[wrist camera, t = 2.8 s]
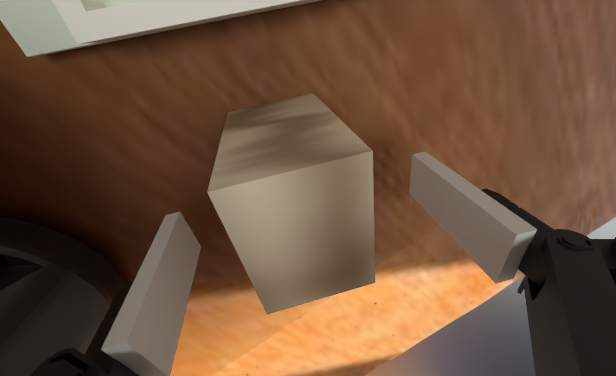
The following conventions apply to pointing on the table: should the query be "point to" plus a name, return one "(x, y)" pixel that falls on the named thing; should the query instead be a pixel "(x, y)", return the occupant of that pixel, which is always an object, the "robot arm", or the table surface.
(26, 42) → the chassis bay
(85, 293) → the robot arm
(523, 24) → the table surface
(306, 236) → the tan wooden block
